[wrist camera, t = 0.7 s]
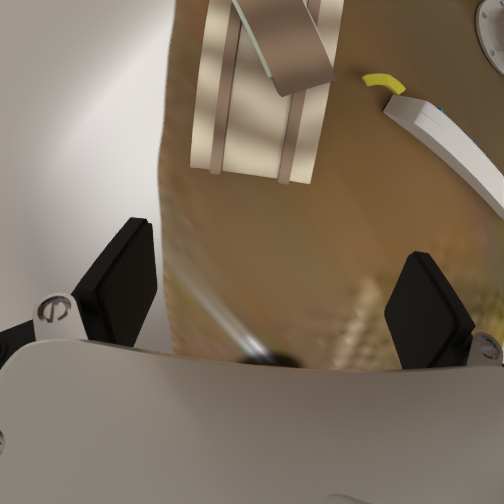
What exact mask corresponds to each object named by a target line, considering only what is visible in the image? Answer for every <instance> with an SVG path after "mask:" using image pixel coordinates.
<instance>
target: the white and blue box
mask: <svg viewBox="0 0 504 504" xmlns="http://www.w3.org/2000/svg"><path fill="white" fill-rule="evenodd" d="M362 79H363V81H364V82H365V84H366V85H367V86H372V85H383V86H385V87H387V88H388V89H390V90H391V91H392V92H393V93H394V94H393V96H392V97H391V99H390V101H389V103H387V106H386V108H385V109H384V111H383V113H384V114H386V115H387V116H388V117H389V118H391V119H392V120H394V121H395V122H396V123H398V124H399V125H400V126H402V127H403V128H404V129H406V130H407V131H408V132H410V133H411V134H412V135H413V136H415V137H416V138H417V139H418V140H420V141H421V142H422V143H423V144H425V145H426V146H427V147H428V148H429V149H431V150H432V151H433V152H434V153H435V154H437V155H438V156H439V157H440V158H441V159H442V160H443V161H445V162H446V163H447V164H448V165H449V166H450V167H451V168H452V169H453V170H455V171H456V172H457V173H458V174H459V175H460V176H461V177H462V178H463V179H464V180H465V181H466V182H467V183H468V184H469V185H470V186H471V187H472V188H473V189H474V190H475V191H476V192H477V193H478V194H479V195H480V196H481V197H482V198H483V199H484V200H485V201H486V202H487V203H488V204H489V205H490V206H491V208H492V209H493V210H494V211H495V212H496V213H497V214H498V215H499V216H500V217H501V218H502V219H503V220H504V177H503V175H502V174H501V173H500V172H499V171H498V169H497V168H496V167H495V166H494V164H493V163H492V162H491V161H490V160H489V159H488V158H487V157H486V155H485V154H484V153H483V152H482V151H481V150H480V149H479V147H478V146H476V144H477V143H476V142H475V141H472V140H471V139H470V138H469V137H468V136H467V135H466V134H465V133H464V132H463V131H462V130H461V129H460V128H459V127H458V126H457V125H456V124H455V123H454V122H453V121H452V120H451V119H450V118H448V117H447V116H446V115H445V113H444V112H443V109H442V108H438V107H435V106H434V105H432V104H431V103H429V102H427V101H425V100H420V99H415V98H411V97H406V96H400V95H399V94H401V93H402V92H403V91H405V90H406V88H405V87H404V86H403V85H402V84H401V83H400V82H399V81H398V80H397V79H395V78H393V77H392V75H389V74H382V73H372V74H366V75H364V76H362ZM395 94H397V95H395Z"/></svg>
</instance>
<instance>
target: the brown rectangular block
mask: <svg viewBox="0 0 504 504" xmlns="http://www.w3.org/2000/svg"><path fill="white" fill-rule="evenodd" d="M232 2H233V4H234V6H235V8H236V10H237V12H238V14H239V16H240V18H241V20H242V22H243V24H244V26H245V28H246V30H247V32H248V35H249V37H250V39H251V41H252V43H253V45H254V47H255V50H256V52H257V54H258V56H259V58H260V61H261V63H262V65H263V67H264V70H265V72H266V74H267V76H268V78H271V79H272V81H273V83H274V86H275V88H276V90H277V93H278V94H279V95H280V96H281V97H284V96H287V95H290V94H293V93H296V92H299V91H303V90H306V89H309V88H312V87H316V86H319V85H322V84H326V83H329V82H333V81H336V80H337V79H336V76H335V73H334V71H333V68H332V66H331V63H330V61H329V59H330V58H329V56H328V53H327V51H326V49H325V46H324V44H323V42H322V39H321V37H320V35H319V32H318V30H317V28H316V26H315V23H314V21H313V19H312V17H311V15H310V13H309V11H308V9H307V6H306V4H305V2H304V0H232Z"/></svg>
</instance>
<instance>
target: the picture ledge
mask: <svg viewBox="0 0 504 504" xmlns="http://www.w3.org/2000/svg"><path fill="white" fill-rule="evenodd" d="M304 2H305V4H306V6H307V9H308V11H309V13H310V15H311V17H312V19H313V21H314V23H315V26H316V28H317V30H318V32H319V35H320V37H321V39H322V42H323V44H324V46H325V49H326V51H327V53H328V56H329V58H330V59H329V61H330V63H331V66H332V68H333V65H334V59H335V54H336V48H337V42H338V36H339V29H340V23H341V16H342V10H343V3H344V0H304ZM329 87H330V82H329V83H326V84H322V85H319V86H316V87H312V88H309V89H306V90H303V91H299V92H296V93H293V94H290V95H287V96H284V97H281V96H280V95H279V94H278V93H277V90H276V88H275V86H274V83H273V81H272V79H271V78H268V76H267V74H266V72H265V70H264V67H263V65H262V63H261V61H260V58H259V56H258V54H257V52H256V50H255V47H254V45H253V43H252V41H251V39H250V37H249V35H248V32H247V30H246V28H245V26H244V24H243V22H242V20H241V18H240V16H239V14H238V12H237V10H236V8H235V6H234V4H233V2H232V0H210V1H209V7H208V13H207V19H206V25H205V32H204V39H203V45H202V53H201V60H200V68H199V76H198V84H197V93H196V103H195V112H194V123H193V134H192V146H191V160H190V167H194V168H203V169H210V174H219V175H220V174H221V172H222V171H228V172H236V173H243V174H250V175H257V176H264V177H270V178H277V179H278V183H282V184H288V185H289V181H295V182H301V183H306V184H310V181H311V176H312V172H313V167H314V162H315V158H316V153H317V148H318V143H319V139H320V134H321V129H322V124H323V119H324V114H325V108H326V103H327V98H328V93H329Z"/></svg>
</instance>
